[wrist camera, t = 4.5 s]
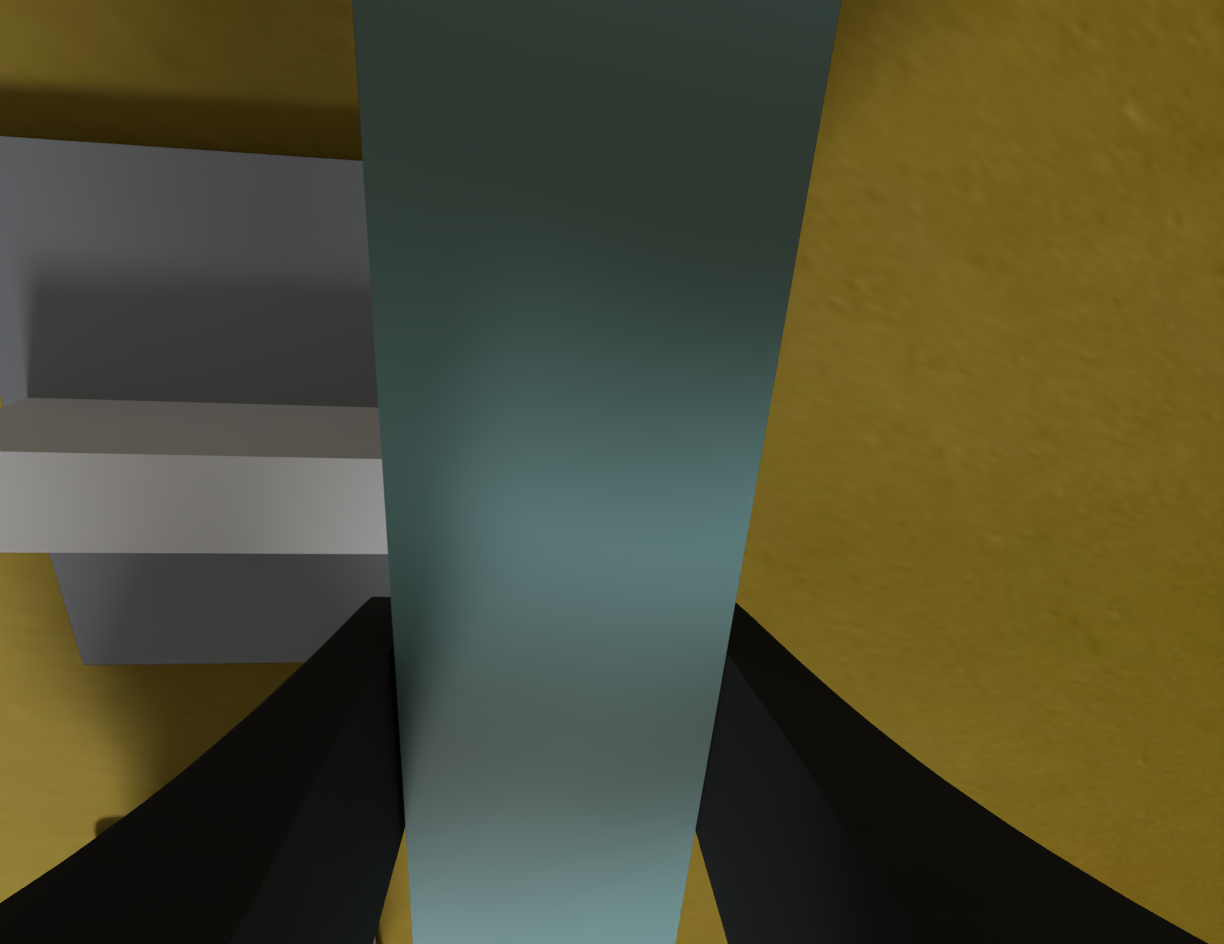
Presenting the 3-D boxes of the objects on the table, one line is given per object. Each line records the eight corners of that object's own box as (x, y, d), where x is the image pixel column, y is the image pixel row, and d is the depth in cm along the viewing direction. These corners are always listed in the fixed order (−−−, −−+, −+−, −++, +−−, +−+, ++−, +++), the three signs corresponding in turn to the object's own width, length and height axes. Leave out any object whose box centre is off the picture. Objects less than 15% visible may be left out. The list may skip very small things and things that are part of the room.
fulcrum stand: (561, 636, 19) (566, 743, 15) (107, 640, 18) (-6, 759, 14) (579, 176, 14) (592, 174, 11) (-38, 134, 13) (-264, 115, 9)
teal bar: (619, 884, 15) (644, 1119, 11) (456, 890, 14) (425, 1135, 11) (722, 17, 8) (861, -111, 5) (435, -16, 8) (341, -183, 4)
